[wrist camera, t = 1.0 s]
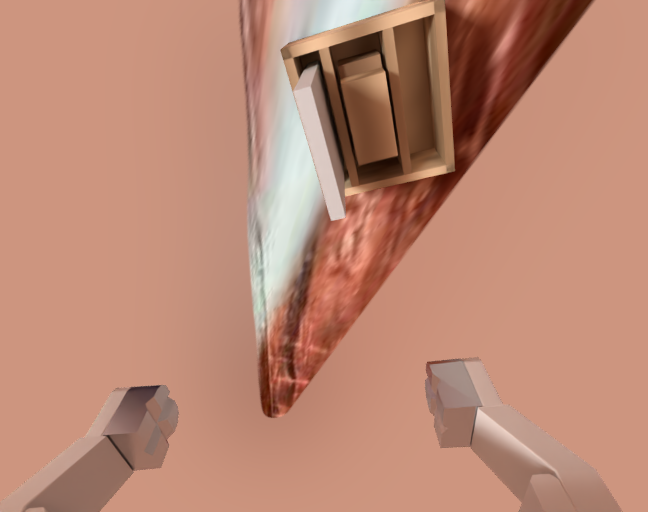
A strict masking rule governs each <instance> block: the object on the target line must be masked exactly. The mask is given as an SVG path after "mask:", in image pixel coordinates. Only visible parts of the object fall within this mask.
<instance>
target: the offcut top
mask: <svg viewBox="0 0 648 512" xmlns="http://www.w3.org/2000/svg"><path fill="white" fill-rule="evenodd" d="M341 87H342V91H343V96H344V100H345V105H346V109H347V114H348V118H349V123H350V127H351V132H352V136H353V141H354V146H355V150H356V155H357V159H358V164H359V165H361V164H365V163H369V162H373V161H377V160H381V159H385V158H390V157H394V156H398V152H397V146H396V139H395V133H394V126H393V120H392V113H391V107H390V100H389V93H388V87H387V80H386V74H385V71H384V69H383V68H382V67H381V68H377V69H374V70H370V71H367V72H363V73H360V74H357V75H353V76H350V77H346V78H343V79H341Z"/></svg>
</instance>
